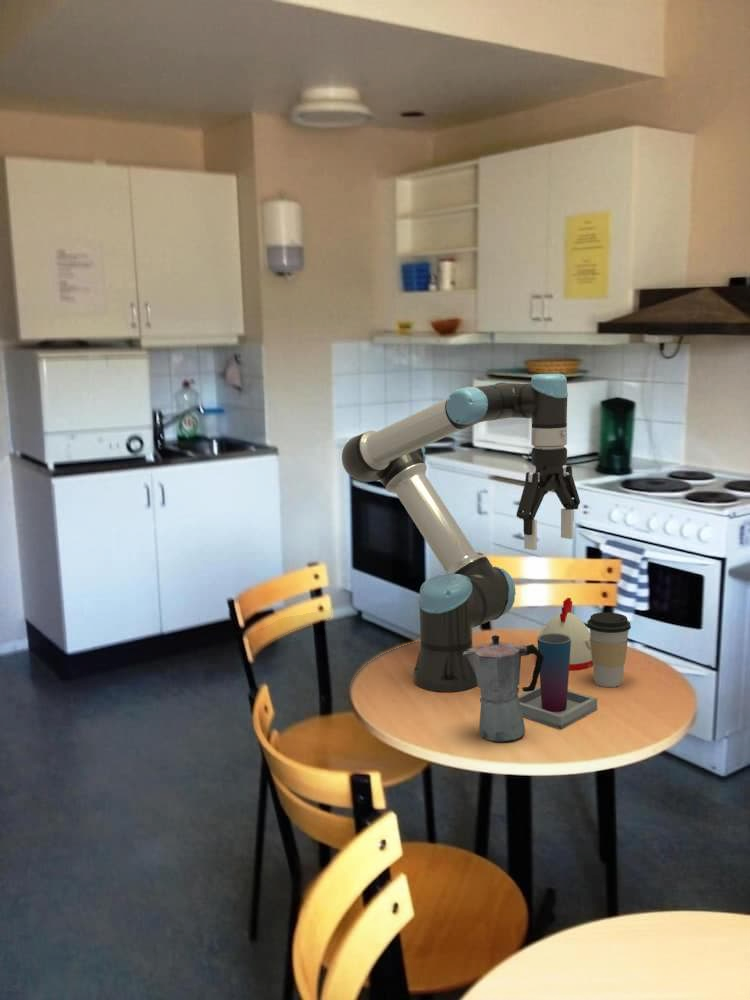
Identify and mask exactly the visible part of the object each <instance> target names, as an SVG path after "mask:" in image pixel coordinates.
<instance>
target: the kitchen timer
mask: <svg viewBox="0 0 750 1000" xmlns="http://www.w3.org/2000/svg"><path fill="white" fill-rule="evenodd" d="M562 604H563V605H562V606H561V612H560V613H558V614H556V615H554V616H553V617H552V618H551V619H550V620H549V621H548V622H547V623H546V625H545V626H544V627H542V629H541V630H540V633H538V636H539V635H541V634H544V633H562V634H566V635H568V636H570V637H571V649H570V663H569V672H574V671H583V670H587V669H589V668H593V662H592V654H591V643H590V637H591V636H590V629H589V628H588V627H587V625H586V624H585V622H583V620H582V619H581V618H580V617H578V615H575V614H574V613H572V607H573V601H572V597H567V598H565V599H564V600H563V602H562ZM536 648H537V650H538V645H536ZM535 656H536V655H535ZM535 658H536V659H535V661H536V660H537V656H536V657H535Z"/></svg>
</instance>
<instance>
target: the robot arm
mask: <svg viewBox="0 0 750 1000" xmlns="http://www.w3.org/2000/svg"><path fill="white" fill-rule="evenodd" d="M568 397H569V394H568V381H567V377H566V375H564V374H562V373H539V374H534V375H532V377H531V381H530V383H529V382H528V383H521V382H519V383H517V382H516V383H515V382H514V383H512V382H492V383H489V384H488V385H478V386H465V387H462V388H458V389H455V390H454V391H452V392H451V393H450V395H449V397H447V398H445V399H443V400H441V401H439V402H437V403H435V404H433V405H431V406H428V407H426V408H425V409H424V408H423V409H422V410H420V411H417V412H416V413H413V414H411V415H408V416H407V417H405V418H402V419H401V420H399V421H398V420H397V422H394V423H392V424H390V425H388V426H385V427H384V428H382V429H379V430H377V431H376V430H367V431H365V432H363V433H361V434H359V435H356V436H353V437H352V438H350V439H349V440H348V441H347V442H346V443H345V445H344V447H343V449H342V452H341V461H342V462H341V463H342V465H343V469H344V470H345V472H346V473H347V474H348V475H349V476H350V477H352V479H354V480H357V481H359V482H365V483H368V482H376V481H380V482H381V484H382V485H383V487H384V489H385V490H386V491H387V493H392V494H395V495H396V496H397V497H398V499H399V501H400V503H401V504H402V506H404V507H403V508H405V510H406V512H407V513H408V515H409V516H410V518H411V520H412V522H413V523H414V524H415V526H416V528H417V529H418V530H419V532H420V535H422V537H423V539H424V540H425V542H426V543H427V545H428V547H429V548H430V550H431V551H432V553H433V555H435V557H436V559H437V561H438V562H439V564H440V565H441V567H442V569H443V570H444V571H445V574H442V575H441V574H439V575H435V576H432V577H430V578H428V579H427V580H425V581H424V582H423V583H422V584H421V586H420V589H419V599H418V606H419V625H420V627H419V630H420V649H419V652H418V655H417V659H416V663H415V666H414V669H413V681H414V683H415V685H417V686H418V687H420V688H423V689H425V690H429V691H433V692H434V691H435V692H445V693H448V692H459V691H466V690H469V689H472V688H474V687H476V686H478V683H477V678H476V674H475V672H474V670H473V668H472V666H471V664H470V663H469V661H468V659H467V657H466V656H465V655H463V653H464V652H465V651H467V649H470V648H474V647H473V629H474V628H475V627H479V626H482V625H483V624H486V623H488V622H491V621H496V620H498V619H500V618H501V617H502V616H504V615H507V613H509V612H510V611H511V609H512V608H513V605H514V604H515V601H516V600H515V597H516V586H515V583H514V580H513V578H512V575H510V573H509V571H507V570H506V569H504V568H500V567H499V566H493V565H492V563H491V561H490V560H489V559H488V556H487V555H483V554H482V555H481V554H478V553H477V552H476V551H475V549H474V547H473V546H472V543H470V541H469V540H468V538H467V537H466V535H465V533H464V532H463V530H462V528H460V526H459V524H458V523H457V522H456V520H455V518H454V517H453V516H452V514H451V512H450V511H449V509H448V507H447V506H446V505H445V503H444V501H443V500H442V498H441V496H440V495H439V493H438V491H436V489H435V487H434V486H433V485H432V483H431V482H430V480H429V478H428V477H427V475H426V472H427V468H428V466H427V464H426V458H427V457H426V456H427V455H426V454H425V453H426V447H427V446H428V445H430V444H433V443H435V442H437V441H440V440H442V439H444V438H446V437H449V436H451V435H453V434H455V433H458V432H460V431H462V430H465V429H468V428H470V427H472V426H475V425H477V424H479V423H484V422H488V421H489V422H490V421H496V420H497V421H498V420H503V419H511V418H514V419H515V418H516V419H518V418H519V419H530V421H531V427H530V429H531V432H530V433H531V434H530V435H531V437H530V439H531V442H530V444H531V445H532V446H533V447H532V449H531V464H532V465H533V466H534V468H535V471H534V472H531V471H530V472H529V471H527V472H526V473H525V480H524V481H525V483H524V486H523V490H522V493H521V496H520V499H519V504H518V507H517V511H516V514H515V515H516V517H517V518H519V519H520V520H522V521H523V536H524V537H523V539H524V540H523V541H524V542H523V543H524V545H523V547H524V548H523V549H526V550H530V551H537V549H538V545H537V544H538V543H537V542H538V536H537V535H538V527H537V526H538V519H536V518H535V517H536V515H537V512H538V511H539V508H540V506H541V504H542V502H543V500H544V497H545V496H546V495H547V494H548V493H549V492H550V491H552V490H553V491H554V492H555V495H556V496H557V498H558V500H559V501H560V503H561V505H562V507H563V508H561V509H560V538H562V539H566V540H567V539H568V540H573V539H574V521H575V520H574V518H575V516H574V515H575V514H574V512H575V511H574V510H579V506H580V504H581V500H580V496H579V493H578V490H577V486H576V483H575V480H574V476H573V468H572V466H571V465H567V463H568V449H567V447H565V446H566V445H567V444H568V422H567V421H568Z"/></svg>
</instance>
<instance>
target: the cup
mask: <svg viewBox="0 0 750 1000" xmlns="http://www.w3.org/2000/svg"><path fill="white" fill-rule="evenodd" d="M536 642H537V646H538V650H539V651H540V653H542V654H543V656H544V660H543V663H542V666H541V670H540V672H539V683H540V685H539V686H540V687H541V702H542V708H543V709H544V710H547V711H550V712H561V711H564V710H565V709H566V707H567V692H568V690H569V689H568V688H569V679H570V678H569V675H570V671H569V663H570V649H571V637H570V636H568V635H566V634H562V633H544V634H541V635H539V634H538V635H537V637H536Z"/></svg>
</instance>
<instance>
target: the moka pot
mask: <svg viewBox="0 0 750 1000" xmlns="http://www.w3.org/2000/svg"><path fill="white" fill-rule="evenodd" d="M490 637H491V640H492V642H488V643H482V644H478V645H476V646H475V647H473V648H470V649H467V651H465V652H464V653H463V655H465V656H466V657H467V659H468V661H469V663H470V664H471V666H472V668H473V670H474V672H475V674H476V678H477V683H478V685H477V687H478V688H479V689H480V696H481V697H480V699H479V702H480V713H479V726H478V727H479V728H478V730H479V731H478V733H479V735H480V736H481V737H482V738H483V739H484V740H487V741H492V742H499V743H500V742H501V743H502V742H510V741H514V740H517V739H520V738H521V737H523V736H524V734H525V732H526V727H525V721H524V717H523V716H522V712H521V706H520V702H519V697H518V696H519V695H518V693H519V691H520V688H519V685H520V681H521V680H520V677H521V661H522V657H526V656H530V655H535V656H537V660H536V659H535V664H534V667H533V672H532V677H531V681H530V684H529V686H523V687H522V688H521V690H522V693H525V692H527V691H533V690H534V689H535V688H536V687H537V683H538V679H539V677H540V670H541V666H542V663H543V660H544V656H543V654H542V653H540V651H539V650H537V646H535V644H533V643H532V644H529V645H516V644H515V643H511V642H500V636H499V635H498V634H497V635H496V634H495V635H492V636H490Z"/></svg>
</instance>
